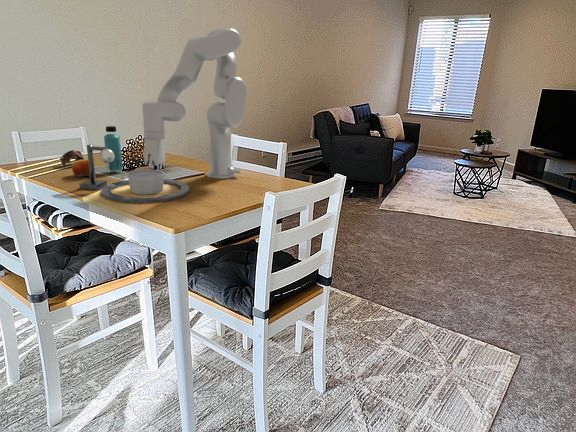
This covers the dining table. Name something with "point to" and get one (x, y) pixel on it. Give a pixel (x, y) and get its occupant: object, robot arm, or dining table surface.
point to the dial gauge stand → (92, 183)
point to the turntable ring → (109, 195)
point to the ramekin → (146, 181)
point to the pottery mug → (71, 156)
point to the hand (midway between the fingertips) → (157, 181)
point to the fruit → (81, 168)
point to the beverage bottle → (113, 148)
